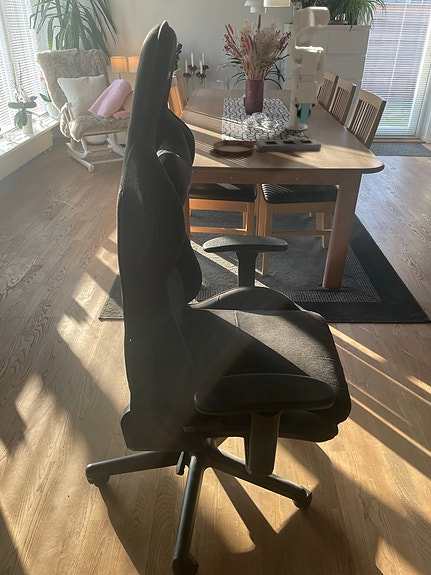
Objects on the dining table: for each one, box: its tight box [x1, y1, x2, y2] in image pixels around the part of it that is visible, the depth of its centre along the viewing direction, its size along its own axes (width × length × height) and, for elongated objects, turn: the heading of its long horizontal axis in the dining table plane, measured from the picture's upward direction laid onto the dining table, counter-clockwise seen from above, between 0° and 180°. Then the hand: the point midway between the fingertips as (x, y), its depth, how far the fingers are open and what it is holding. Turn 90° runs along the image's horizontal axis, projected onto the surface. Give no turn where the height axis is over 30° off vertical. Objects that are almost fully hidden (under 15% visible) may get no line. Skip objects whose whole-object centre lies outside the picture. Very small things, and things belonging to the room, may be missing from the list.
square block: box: [298, 104, 310, 125], centre depth 233 cm, size 4×4×10 cm
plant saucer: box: [212, 139, 256, 157], centre depth 223 cm, size 21×21×3 cm
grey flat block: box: [255, 138, 322, 153], centre depth 229 cm, size 10×30×3 cm, turn 99°
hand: (303, 116), depth 234 cm, fingers closed on square block, 4 cm apart
